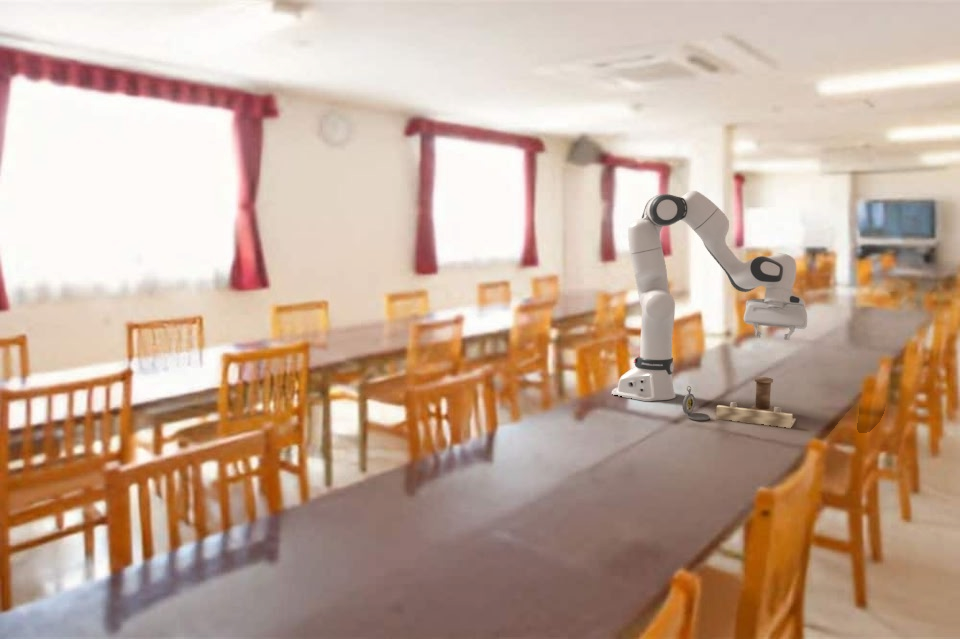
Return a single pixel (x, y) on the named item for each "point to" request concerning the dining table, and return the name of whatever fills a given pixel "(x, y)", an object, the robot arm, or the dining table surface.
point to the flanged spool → (763, 394)
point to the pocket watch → (692, 407)
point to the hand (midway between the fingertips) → (772, 338)
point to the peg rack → (755, 415)
